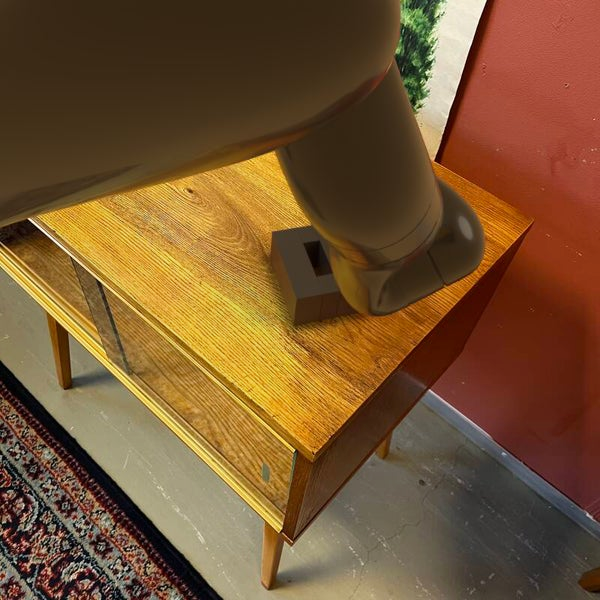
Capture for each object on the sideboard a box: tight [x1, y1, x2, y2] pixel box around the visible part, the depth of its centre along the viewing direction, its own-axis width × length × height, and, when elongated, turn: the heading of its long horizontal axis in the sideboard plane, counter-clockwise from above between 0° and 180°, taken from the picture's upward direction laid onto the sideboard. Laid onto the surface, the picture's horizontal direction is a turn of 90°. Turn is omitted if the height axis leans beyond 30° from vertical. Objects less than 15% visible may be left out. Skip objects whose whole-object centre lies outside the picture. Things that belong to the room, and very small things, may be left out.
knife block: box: [269, 224, 360, 327], centre depth 76 cm, size 8×10×5 cm
